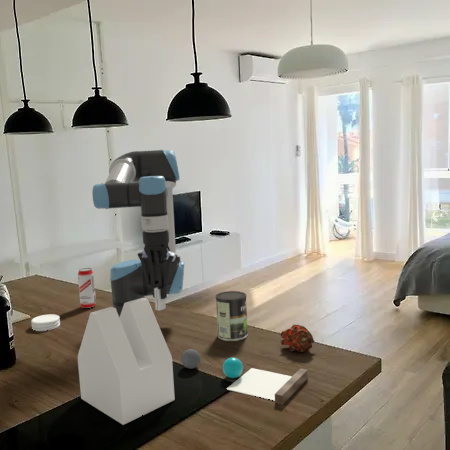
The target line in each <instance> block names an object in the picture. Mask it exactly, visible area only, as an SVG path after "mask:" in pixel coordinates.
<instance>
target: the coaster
mask: <svg viewBox="0 0 450 450" xmlns="http://www.w3.org/2000/svg"><path fill="white" fill-rule="evenodd" d="M60 318H61V317H60V315H58V314H54V313H52V314H48V313H47V314H42V315H38V316H36V317H33V318H32V319H31V320H30V323H31V330H32V329H33V330H32V331H34V330H36V331H35V332H48V331H52V330H55V329H58V328H59V327H60V326H61V320H60ZM47 330H48V331H47Z"/></svg>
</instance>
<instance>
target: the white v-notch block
mask: <svg viewBox="0 0 450 450" xmlns="http://www.w3.org/2000/svg"><path fill="white" fill-rule="evenodd" d="M82 337H83V338H82V340H81V343H80V346H79V350H78V354H77V368H78V378H79V379H78V380H79V386H80V398H81V400H83V401H84V402H86V403H88V404H89V405H91V406H92V407H94V408H95V409H97V410H98V411H100V412H102V413H104V414H105V415H107V416H108V417H110V418H111V419H113V420H115V421H116V422H118V423H119V424H121V425H122V426H124V425H126V424H128V423H130V422H132V421H134V420H136V419H138V418H140V417H142V415H143V416H145V415H147V414H149V413H151V412H153V411H155V410H156V409H159V408H161V407H162V406H165V405H167V404H169V403H171V402H173V401H175V385H174V383H175V381H174V370H173V369H174V368H173V367H174V365H173V356H172V353H171V352H170V349H169V347H168V346H169V345H168V344H167V342H166V340H165V337H164V335H163V332H162V330H161V327H160V325H159V323H158V321H157V318H156V315H155V313H154V310H153V309H152V306H151V304H150V301H149V299H148V298H146V297H145V298H140V299H137V300H133V301H130V302H126V303H124V306H123V309H122V312H121V315H120V318H119V315H118V313H117V310H116V308H114V307H113V306H109V307H106V308H101V309H98V310H95V311H93V312H90V314H89V316H88V320H87V322H86V327H85V331H84V333H83V336H82Z"/></svg>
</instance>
